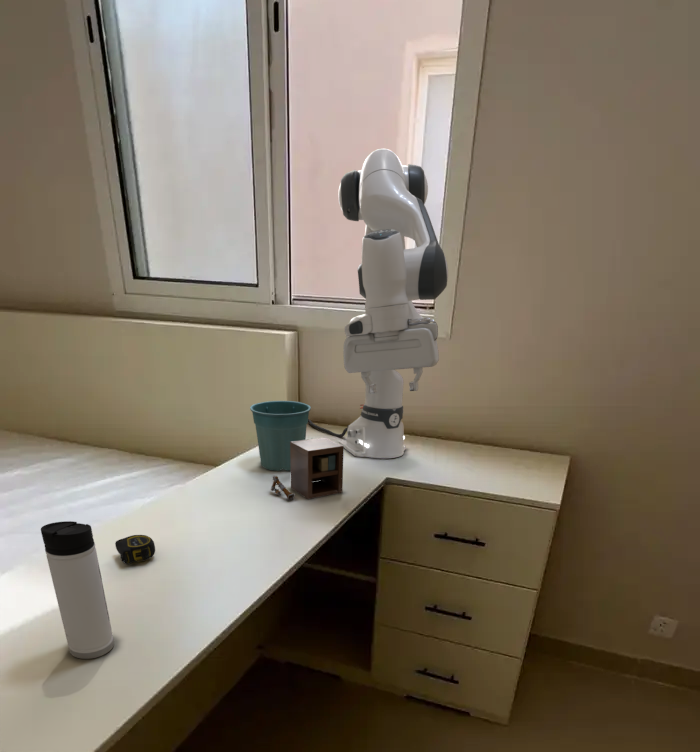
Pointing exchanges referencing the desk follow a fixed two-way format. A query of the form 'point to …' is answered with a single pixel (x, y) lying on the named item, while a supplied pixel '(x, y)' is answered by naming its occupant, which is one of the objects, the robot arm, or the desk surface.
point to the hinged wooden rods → (282, 487)
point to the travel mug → (78, 588)
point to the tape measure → (135, 548)
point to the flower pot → (279, 430)
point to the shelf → (316, 467)
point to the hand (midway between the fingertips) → (393, 392)
